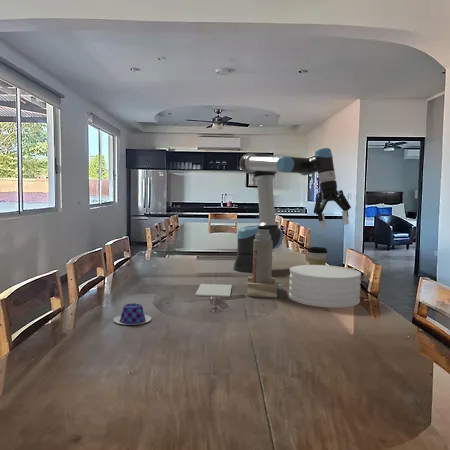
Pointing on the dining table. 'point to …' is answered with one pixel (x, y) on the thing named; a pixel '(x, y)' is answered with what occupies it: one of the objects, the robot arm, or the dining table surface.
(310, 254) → the coffee cup
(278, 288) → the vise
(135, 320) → the pudding
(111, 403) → the dining table surface
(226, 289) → the grey mat
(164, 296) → the dining table surface
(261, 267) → the thermos bottle
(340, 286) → the plate stack
